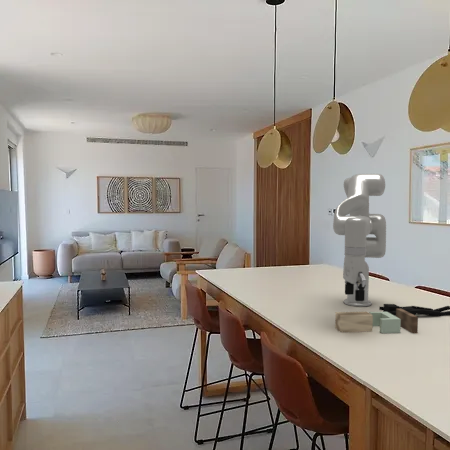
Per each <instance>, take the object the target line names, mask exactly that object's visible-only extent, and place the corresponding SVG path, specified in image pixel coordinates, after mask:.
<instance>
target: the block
mask: <svg viewBox="0 0 450 450" xmlns="http://www.w3.org/2000/svg"><path fill="white" fill-rule="evenodd" d="M368 313H370V314H371V315H373V327H379V333H380V334H401V327H400V325H401V319H399V318H398V317H396V316H394V315H392V314H390V313H388V312H383V311H369V312H368Z"/></svg>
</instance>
